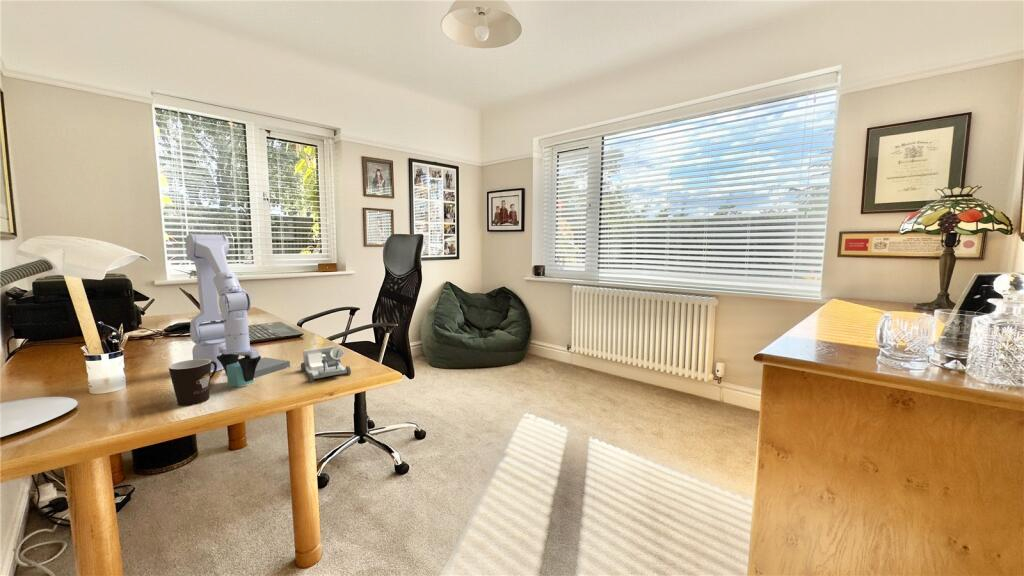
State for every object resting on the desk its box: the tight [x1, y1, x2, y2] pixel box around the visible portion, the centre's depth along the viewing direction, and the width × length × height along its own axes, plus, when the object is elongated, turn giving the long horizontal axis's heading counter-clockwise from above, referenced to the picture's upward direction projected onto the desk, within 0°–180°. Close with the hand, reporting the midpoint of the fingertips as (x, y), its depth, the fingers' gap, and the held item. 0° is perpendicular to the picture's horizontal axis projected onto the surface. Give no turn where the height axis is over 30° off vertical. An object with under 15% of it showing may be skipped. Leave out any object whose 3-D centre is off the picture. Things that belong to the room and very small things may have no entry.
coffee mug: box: [168, 359, 217, 407], centre depth 104 cm, size 12×9×10 cm
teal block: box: [226, 362, 254, 388], centre depth 115 cm, size 4×4×6 cm
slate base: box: [253, 357, 291, 379], centre depth 128 cm, size 12×12×2 cm
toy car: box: [300, 345, 352, 383], centre depth 125 cm, size 18×10×12 cm
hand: (240, 379), depth 116 cm, fingers open, 7 cm apart
